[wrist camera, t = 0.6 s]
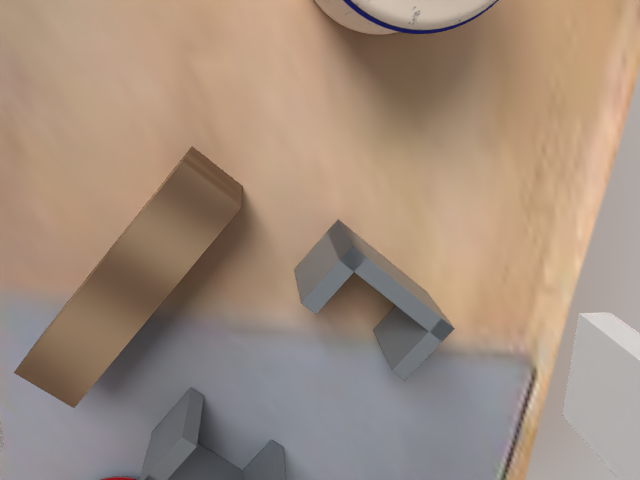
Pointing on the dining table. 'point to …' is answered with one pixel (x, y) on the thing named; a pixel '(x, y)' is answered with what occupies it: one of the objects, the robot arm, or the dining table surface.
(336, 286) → the endcap rail
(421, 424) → the dining table surface
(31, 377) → the wooden block
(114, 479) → the beverage can
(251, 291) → the dining table surface
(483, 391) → the dining table surface
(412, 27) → the white ceramic jar
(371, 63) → the dining table surface
